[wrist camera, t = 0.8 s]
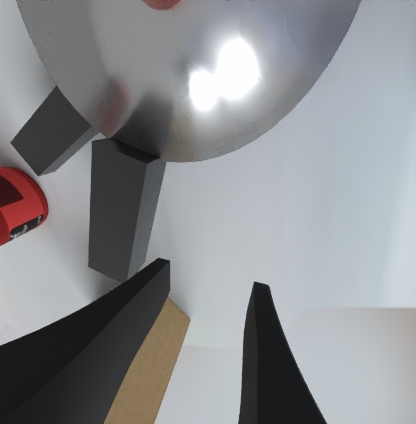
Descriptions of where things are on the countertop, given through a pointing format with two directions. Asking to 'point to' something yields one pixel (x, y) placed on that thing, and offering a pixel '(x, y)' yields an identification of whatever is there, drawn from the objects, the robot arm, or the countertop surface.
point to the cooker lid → (174, 90)
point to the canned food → (19, 204)
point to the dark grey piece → (52, 134)
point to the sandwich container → (150, 370)
